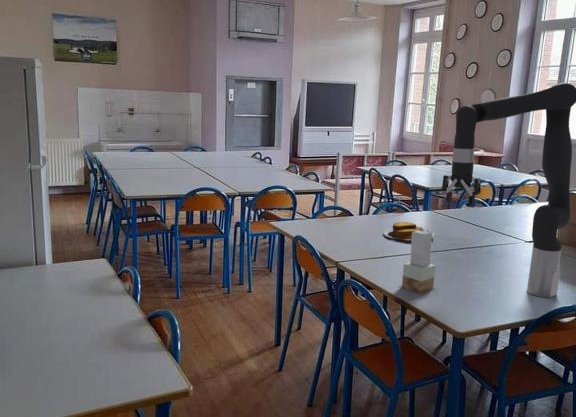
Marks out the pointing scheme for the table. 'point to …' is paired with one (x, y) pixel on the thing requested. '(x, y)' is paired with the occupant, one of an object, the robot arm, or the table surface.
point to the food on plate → (404, 231)
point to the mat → (417, 292)
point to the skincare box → (421, 248)
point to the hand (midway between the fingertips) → (459, 204)
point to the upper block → (418, 271)
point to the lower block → (417, 284)
